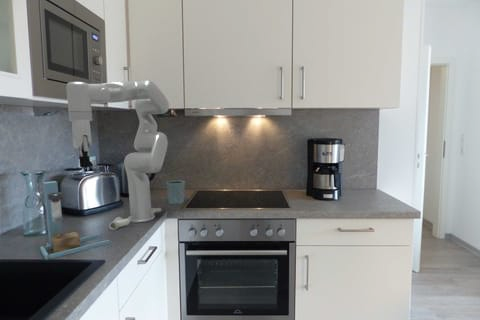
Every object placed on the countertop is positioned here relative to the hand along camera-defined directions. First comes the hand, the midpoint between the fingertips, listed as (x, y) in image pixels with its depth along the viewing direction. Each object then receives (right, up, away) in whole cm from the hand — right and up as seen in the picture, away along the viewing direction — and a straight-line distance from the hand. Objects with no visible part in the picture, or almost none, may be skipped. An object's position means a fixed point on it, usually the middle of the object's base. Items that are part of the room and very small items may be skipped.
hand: (85, 166), depth 117 cm
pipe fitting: (+5, -27, +22) cm, 35 cm away
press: (-5, -29, +1) cm, 30 cm away
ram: (-7, -19, -5) cm, 21 cm away
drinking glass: (+21, -22, +64) cm, 71 cm away
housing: (-6, -30, -2) cm, 31 cm away
